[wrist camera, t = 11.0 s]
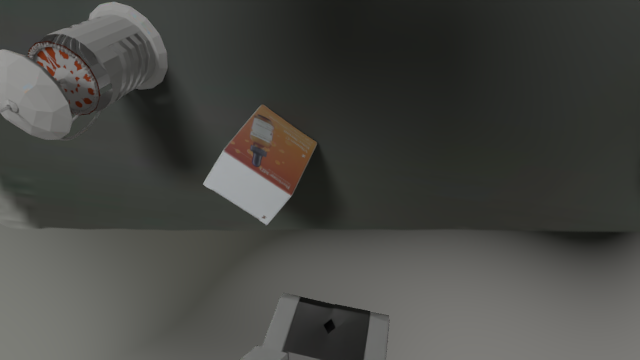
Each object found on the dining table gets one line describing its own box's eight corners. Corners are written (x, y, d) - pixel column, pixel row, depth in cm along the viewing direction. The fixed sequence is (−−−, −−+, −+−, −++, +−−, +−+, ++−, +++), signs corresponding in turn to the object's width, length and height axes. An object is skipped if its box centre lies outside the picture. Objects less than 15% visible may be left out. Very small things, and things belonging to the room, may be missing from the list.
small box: (318, 142, 44) (294, 197, 36) (295, 171, 48) (267, 227, 39) (261, 101, 43) (222, 149, 35) (241, 134, 46) (200, 185, 38)
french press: (173, 28, 40) (-69, 150, 20) (160, 115, 47) (-29, 266, 28) (86, -16, 39) (-250, 67, 20) (86, 79, 47) (-161, 208, 27)
